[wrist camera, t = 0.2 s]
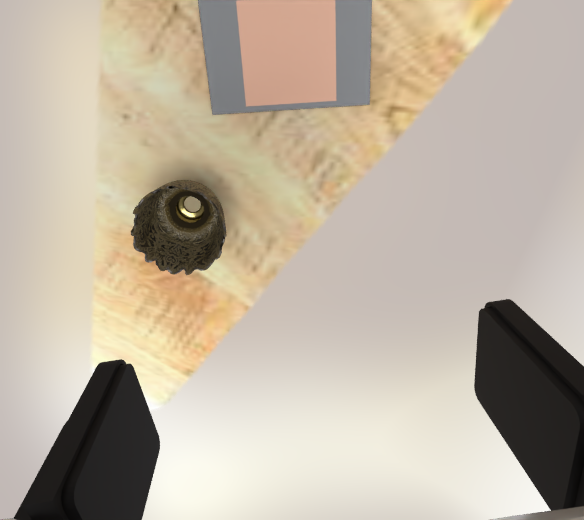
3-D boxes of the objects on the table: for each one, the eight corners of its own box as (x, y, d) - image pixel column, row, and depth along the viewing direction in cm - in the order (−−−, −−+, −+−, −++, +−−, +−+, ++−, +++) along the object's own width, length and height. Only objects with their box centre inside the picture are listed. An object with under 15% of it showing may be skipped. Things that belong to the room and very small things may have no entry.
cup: (162, 154, 39) (140, 174, 31) (240, 179, 40) (236, 204, 33) (145, 227, 41) (121, 261, 34) (219, 248, 43) (211, 285, 36)
